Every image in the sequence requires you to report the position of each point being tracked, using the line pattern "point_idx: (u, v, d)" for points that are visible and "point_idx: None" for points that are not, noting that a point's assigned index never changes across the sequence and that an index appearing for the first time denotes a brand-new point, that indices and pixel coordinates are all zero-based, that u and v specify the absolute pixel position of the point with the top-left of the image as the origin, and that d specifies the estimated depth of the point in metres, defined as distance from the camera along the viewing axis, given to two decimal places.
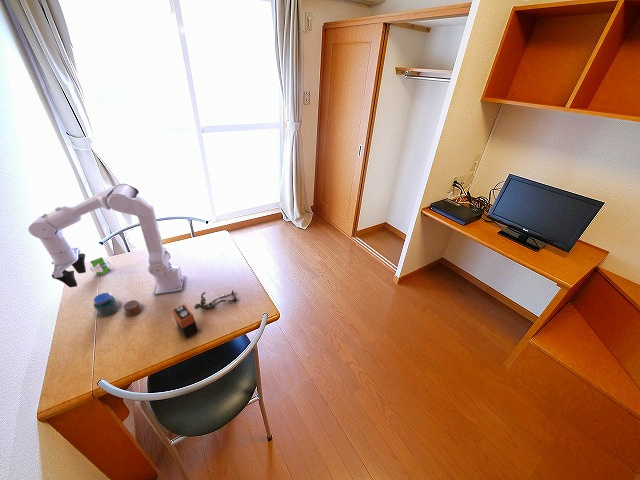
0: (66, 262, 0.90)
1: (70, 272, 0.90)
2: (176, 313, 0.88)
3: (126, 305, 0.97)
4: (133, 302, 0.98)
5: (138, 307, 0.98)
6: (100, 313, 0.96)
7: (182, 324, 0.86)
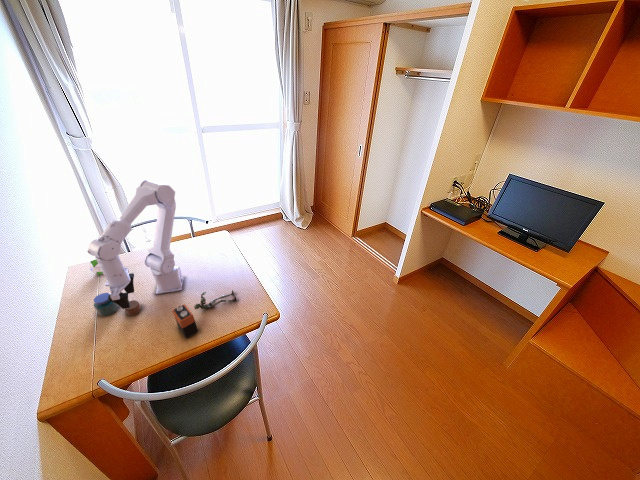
0: (121, 284, 0.89)
1: (125, 294, 0.89)
2: (176, 313, 0.88)
3: None
4: (133, 302, 0.98)
5: (138, 307, 0.98)
6: (100, 313, 0.96)
7: (182, 324, 0.86)
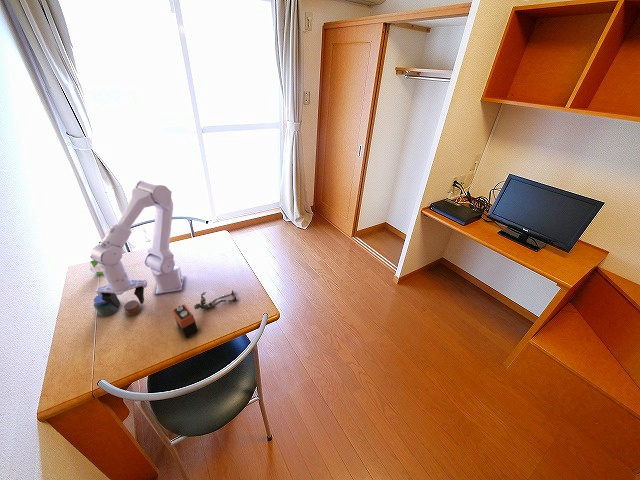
0: (130, 280, 0.93)
1: None
2: (176, 313, 0.88)
3: (126, 305, 0.97)
4: (133, 302, 0.98)
5: (138, 307, 0.98)
6: (100, 313, 0.96)
7: (182, 324, 0.86)
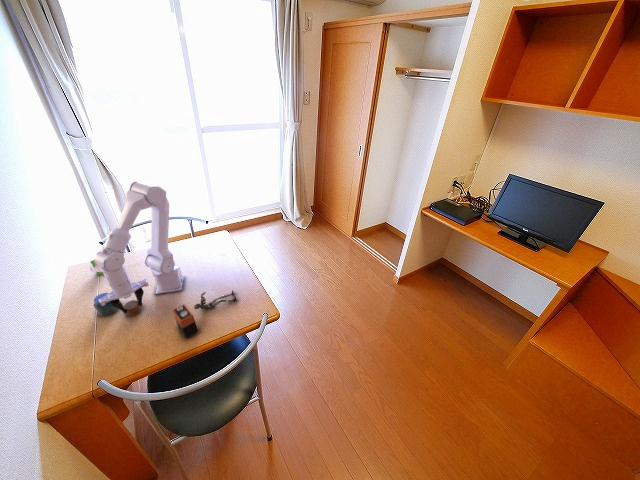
0: None
1: None
2: (176, 313, 0.88)
3: (126, 305, 0.97)
4: (133, 302, 0.98)
5: (138, 307, 0.98)
6: (100, 313, 0.96)
7: (182, 324, 0.86)
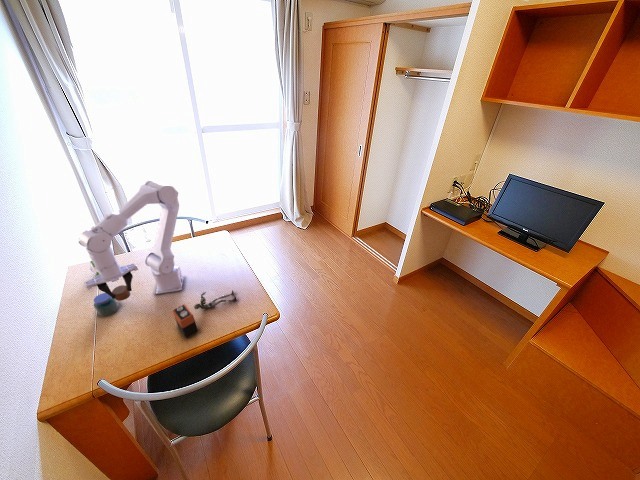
0: None
1: None
2: (176, 313, 0.88)
3: (114, 290, 0.93)
4: (122, 287, 0.94)
5: (127, 292, 0.94)
6: (100, 313, 0.96)
7: (182, 324, 0.86)
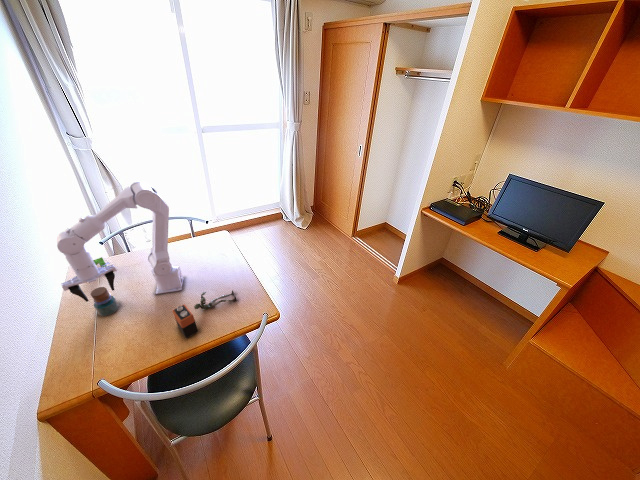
0: None
1: None
2: (176, 313, 0.88)
3: (93, 292, 0.93)
4: (101, 289, 0.95)
5: (106, 294, 0.94)
6: (100, 313, 0.96)
7: (182, 324, 0.86)
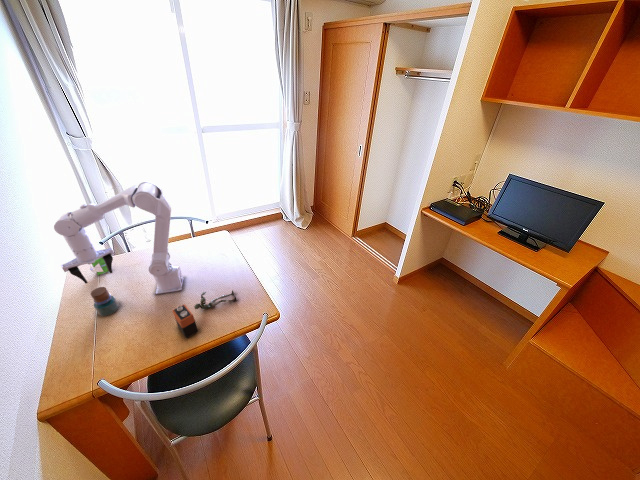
0: None
1: None
2: (176, 313, 0.88)
3: (93, 292, 0.93)
4: (101, 289, 0.95)
5: (106, 294, 0.94)
6: (100, 313, 0.96)
7: (182, 324, 0.86)
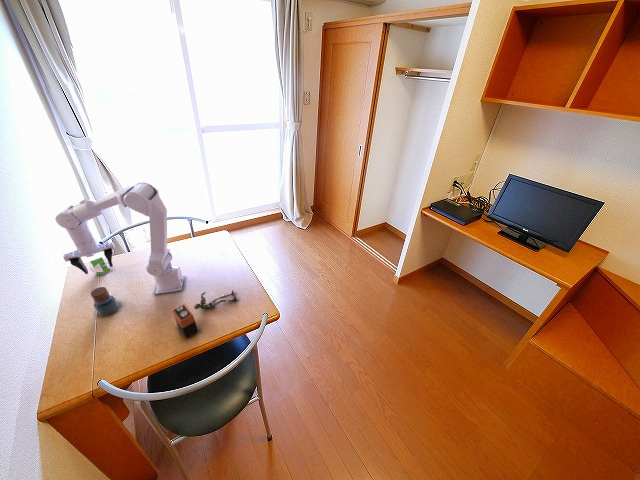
0: None
1: None
2: (176, 313, 0.88)
3: (93, 292, 0.93)
4: (101, 289, 0.95)
5: (106, 294, 0.94)
6: (100, 313, 0.96)
7: (182, 324, 0.86)
